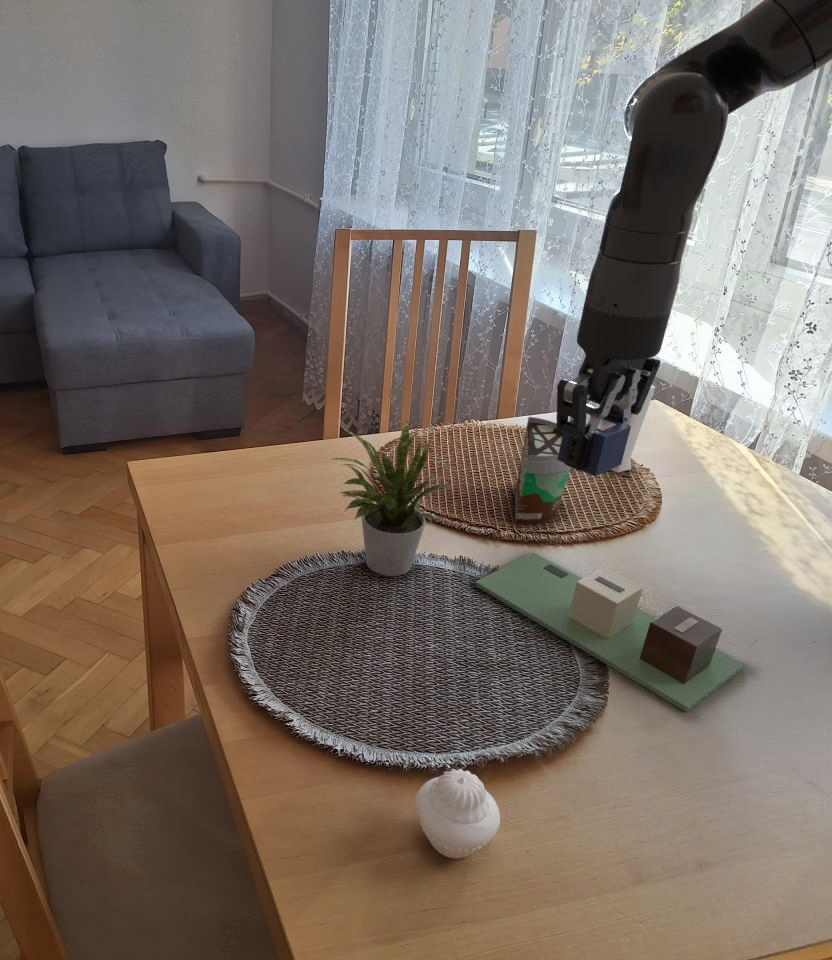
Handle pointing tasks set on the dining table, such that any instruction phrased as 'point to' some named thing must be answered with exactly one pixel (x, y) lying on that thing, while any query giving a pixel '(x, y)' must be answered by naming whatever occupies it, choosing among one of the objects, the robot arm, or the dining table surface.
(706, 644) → the walnut block
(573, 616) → the cream block
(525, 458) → the food container
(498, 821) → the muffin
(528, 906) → the dining table surface
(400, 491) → the house plant
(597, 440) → the navy block
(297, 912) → the dining table surface
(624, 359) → the robot arm
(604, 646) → the green board
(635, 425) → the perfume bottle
